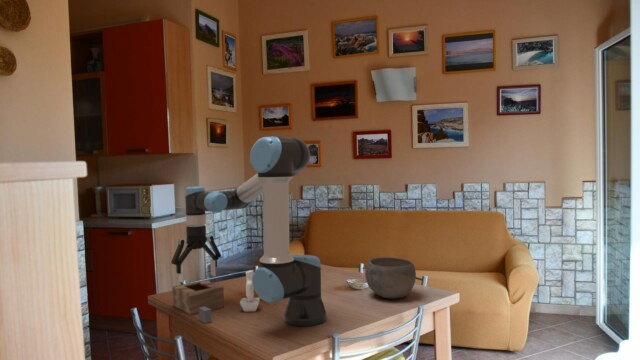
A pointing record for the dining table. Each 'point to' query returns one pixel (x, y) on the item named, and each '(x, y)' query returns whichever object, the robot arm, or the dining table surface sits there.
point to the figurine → (249, 295)
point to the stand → (205, 314)
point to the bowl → (390, 276)
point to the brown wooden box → (198, 296)
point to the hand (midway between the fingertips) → (197, 278)
